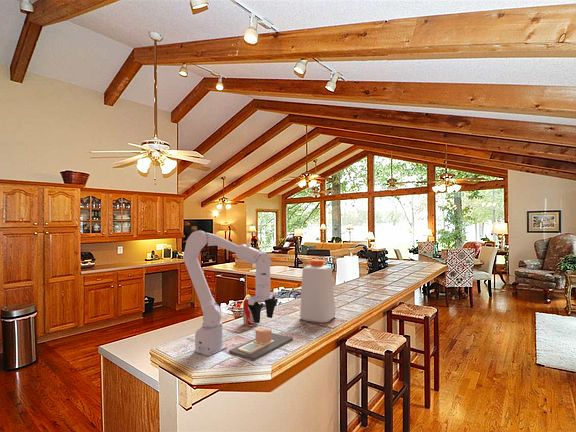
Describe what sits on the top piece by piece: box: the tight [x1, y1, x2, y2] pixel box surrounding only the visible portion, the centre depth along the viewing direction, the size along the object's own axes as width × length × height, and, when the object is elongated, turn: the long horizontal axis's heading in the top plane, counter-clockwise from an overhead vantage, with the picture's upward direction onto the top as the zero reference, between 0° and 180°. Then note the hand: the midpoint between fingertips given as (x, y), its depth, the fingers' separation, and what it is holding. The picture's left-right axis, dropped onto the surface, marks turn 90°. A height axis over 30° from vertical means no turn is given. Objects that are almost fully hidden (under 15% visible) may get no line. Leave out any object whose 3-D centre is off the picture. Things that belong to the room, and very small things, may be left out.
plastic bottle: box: [299, 259, 336, 324], centre depth 155 cm, size 15×15×28 cm
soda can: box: [242, 296, 258, 327], centre depth 146 cm, size 7×7×12 cm
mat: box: [228, 332, 294, 361], centre depth 119 cm, size 23×12×1 cm, turn 145°
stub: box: [253, 327, 274, 346], centre depth 121 cm, size 5×6×5 cm
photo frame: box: [238, 342, 265, 354], centre depth 115 cm, size 8×6×1 cm
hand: (263, 320), depth 121 cm, fingers open, 7 cm apart
